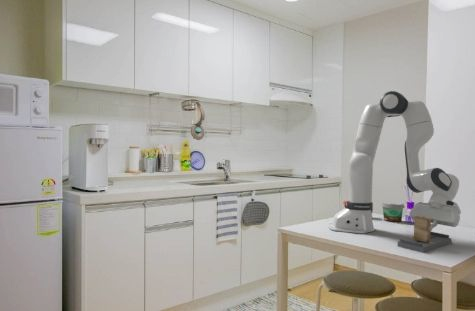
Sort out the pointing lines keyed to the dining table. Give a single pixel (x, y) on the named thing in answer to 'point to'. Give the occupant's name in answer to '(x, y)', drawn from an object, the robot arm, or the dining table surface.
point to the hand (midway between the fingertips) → (427, 229)
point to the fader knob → (422, 228)
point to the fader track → (421, 246)
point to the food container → (392, 212)
